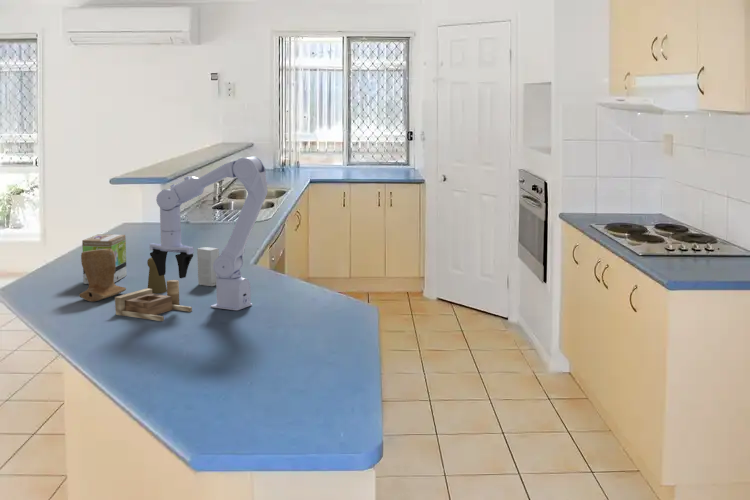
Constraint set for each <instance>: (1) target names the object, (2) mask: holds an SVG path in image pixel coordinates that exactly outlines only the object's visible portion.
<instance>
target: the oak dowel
mask: <svg viewBox="0 0 750 500" xmlns="http://www.w3.org/2000/svg"><path fill="white" fill-rule="evenodd" d="M166 288H167V292H166V296H172V304H173V305H180V282H179V280H178V279H171V280H166Z"/></svg>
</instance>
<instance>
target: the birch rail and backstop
mask: <svg viewBox="0 0 750 500" xmlns="http://www.w3.org/2000/svg"><path fill="white" fill-rule="evenodd" d="M149 293H150V294H152V289H148V287H147V288H143V289H139V290H136V291H132V292H128V293H124V294H121V295H118V296H114V304H115V305H114V307H115V309H114V310H115V315H117V316H122V317H124V316H125V317H129V318H130V317H131V318H139V319H144V320H152V321H157V322H164V321H165V318H164V317H165V316H164V315H159V314H158V315H151V314H144V313H137V312H130V311H126V308H125V300H128V299H132V298H135V297H139V296H142V295H146V294H149ZM172 310H174V311H184V312H189V313H190V312H193V307H192V306H187V305H180V304H179V305H173V304H172Z"/></svg>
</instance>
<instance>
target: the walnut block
mask: <svg viewBox="0 0 750 500" xmlns="http://www.w3.org/2000/svg"><path fill="white" fill-rule="evenodd" d="M125 308H126V311H130V312H137V313H144V314H151V315H158V316H159V315H162V314H164V313H166V312H170V311H172V310H173V309H172V296H167V294H166V295H164V294H150V293H149V294H146V295H142V296H139V297H135V298H132V299H128V300H125Z"/></svg>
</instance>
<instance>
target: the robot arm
mask: <svg viewBox="0 0 750 500" xmlns="http://www.w3.org/2000/svg"><path fill="white" fill-rule="evenodd" d="M266 171H267V169H266V167H265V165H264V163H263V162H262V160H261V158H259V157H257V156H255V155H250V156H247V157H240V158H238V159H236V160H232V161H229V162H226V163H224V164H222V165H220V166H218V167H216V168H215V169H213V170H211V171H209V172H207V173H206V174H204V175H202V176H200V177H198V176H192V175H191V176H190V175H187V176H185V177H183V179H184V180H182V181H180V182H178V183H176V184H175V183H173V184H170V185H169V186H170V188H168V189H167V188H165V189H161V191H159V192H158V193H157V195H156V203H157V206H158V207H159V221H160V223H159V224H160V227H159V228H160V242H159V243H158V242H152V243H149V251H152V252H150V253H149V256H150V258H151V257H152V259H153V260H154V262H155V265H156V267H157V271H158V274H159V276H162V275H164V276H165V275H166V271H167V270H166V269H167V265H166V263H167V257H168V252H169V253H176V254H175V259H176V262H177V266H178V267H177V268H178V278H179V279H184V278H187V275H188V274H187V273H188V269H189V266H190V263H191V261H192V259H193V257H194V246H189V245H186V244H183V243H182V225H181V223H182V222H181V206H182V204H185V203H187V202H190V201H191V200H193V199H195V198H197V197H199V196H201V195H203V193H204V190H205V188H207V187H209V186H211V185H214V184H216V183H217V182H221V181H222V180H224V179H226V178H231V179H233V178H237V180H239V181H240V183H242V184H243V186H244V188H245V190H246V192H247V196H246V198H245V201H244V203H243V205H242V207H241V210H240V212H239V215H238V217H237V219H236V222H235V224H234V227H233V229H232V232H231V234H230V236H229V239H228V240H227V241H228V242H227V243H226V245H225V246H224V247H223V249H222V250H221V253H220V254H219V257H218V258H217V259H216V260H215V261H214V264H213V269H214V272H215V273H216V285H215V288H216V291H215V292H216V303H214V304H211V305H210V308H214V309H221V310H222V309H223V310H231V311H240V310H242V309H246V308H249V307H251V306H253V303H252V298H251V297H252V296H251V295H252V293H251V290H252V289H251V282H250V280H249V279H248V278H246V277H243V276H242V273H241V269H242V267H243V266H244V259H243V258H244V255H245V247H246V246H247V245H246V244H247V242H248V240H249V238H250V235H251V233H252V232H253V231H252V230H253V228H254V225H255V224H256V221H257V219H258V217H259V214H260V212H261V209H262V208H263V204H264V202H265V200H266V197H267V195H268V184H267V183H268V182H267V178H266V177H267V176H266V174H267V173H266ZM177 253H178V254H177Z"/></svg>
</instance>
